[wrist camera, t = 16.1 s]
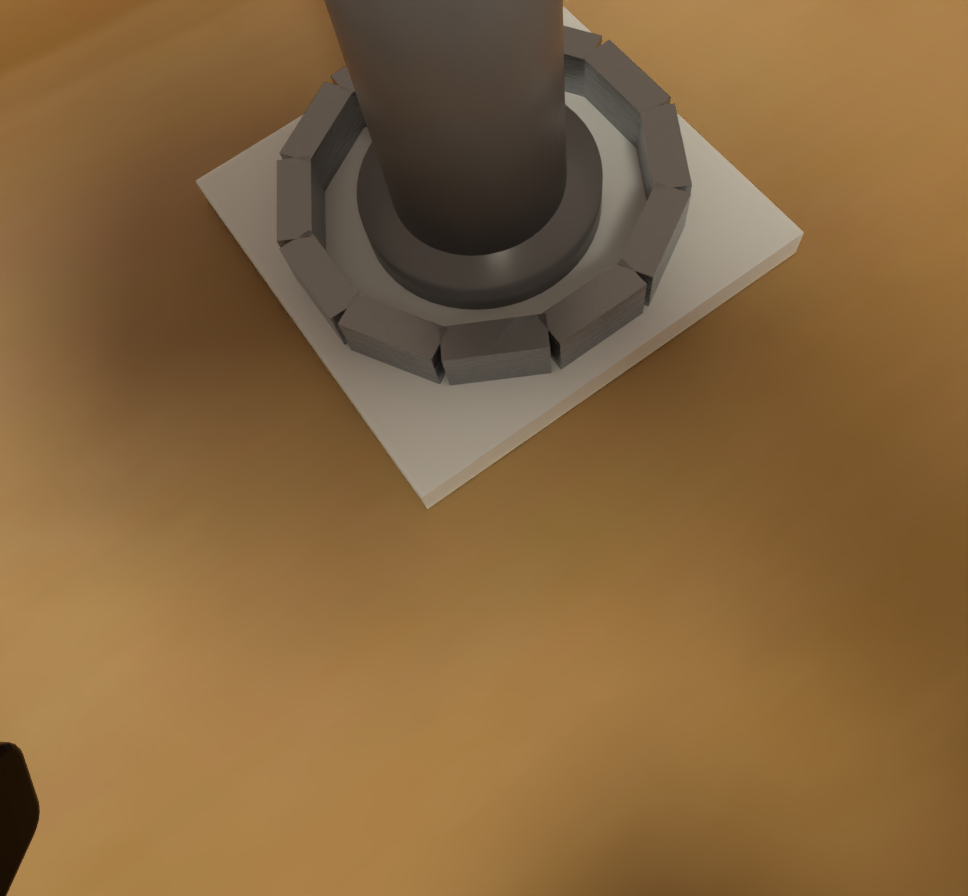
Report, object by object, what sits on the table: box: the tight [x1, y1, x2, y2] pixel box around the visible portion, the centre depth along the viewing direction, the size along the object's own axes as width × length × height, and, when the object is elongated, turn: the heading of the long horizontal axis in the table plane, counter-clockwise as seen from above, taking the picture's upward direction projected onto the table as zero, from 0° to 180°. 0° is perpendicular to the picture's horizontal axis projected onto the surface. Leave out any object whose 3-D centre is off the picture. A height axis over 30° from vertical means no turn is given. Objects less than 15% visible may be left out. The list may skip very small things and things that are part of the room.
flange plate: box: [195, 6, 804, 509], centre depth 25 cm, size 13×13×2 cm
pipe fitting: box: [325, 0, 603, 310], centre depth 19 cm, size 7×7×13 cm
